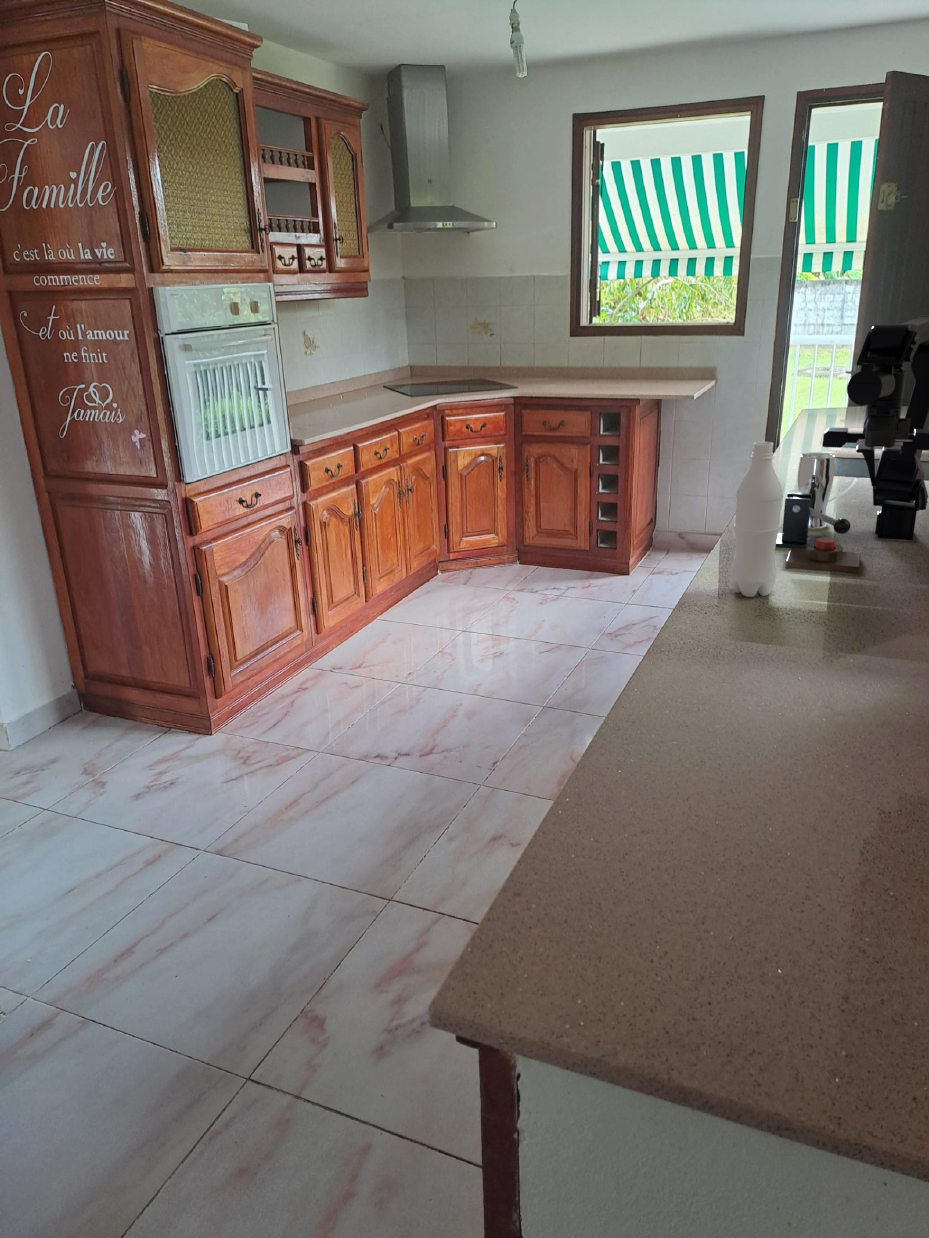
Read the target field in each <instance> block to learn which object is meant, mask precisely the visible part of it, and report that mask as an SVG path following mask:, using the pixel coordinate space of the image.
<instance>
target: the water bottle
mask: <svg viewBox="0 0 929 1238" xmlns="http://www.w3.org/2000/svg"><path fill="white" fill-rule="evenodd" d="M773 448H774V442H772V441H754V442H753V445H752V452H751V455H750V457H749V458H750V460H751V462H750V466H749V468H748V469H747V472H746V473H745V474H744V476H743V477H742V480H741V481H740V483H739V485H738V487H737V490H736V494H735V497H736V502H735V520H734V524H733V529H734V536H735V549H734V551H735V552H734V557H733V560H732V565H731V569H730V583H731V587H732V588H733V591H734V592H735V593H736V594H740V593H741V595H742V596H744V597H747V598H754V597H755V596H756V595H757V593H758V594H760V596H762V597H765V596H768V595H770V593H771V592H772V590H773V588H774V586H775V584H776V580H777V566H776V547H775V546H776V540H777V536H778V533H780V532H779V531H780V529H781V524H780V521H781V512H782V499H783V497H784V493H783V488H782V484H781V482H780V480H779V478H778V475H777V473H776V472H775V469H774V465H773V460H774V458H775V456H774V452H773V450H774V449H773Z"/></svg>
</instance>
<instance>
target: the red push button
mask: <svg viewBox="0 0 929 1238" xmlns="http://www.w3.org/2000/svg"><path fill="white" fill-rule="evenodd" d="M835 544H836V539H834V538H831V537H826V538H817V539H816V544H815V549H819V550H834V546H835Z"/></svg>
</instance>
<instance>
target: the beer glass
mask: <svg viewBox="0 0 929 1238" xmlns="http://www.w3.org/2000/svg"><path fill="white" fill-rule="evenodd" d="M798 465H799V466H798V468H797V469H798V470H797V481H796V482H797V493H804V494H812V497H811V507H810V508H812V509H814V510H816V511H819V512H821V513H823V514H825V515H827V514H826V513H827V507H828V503H829V500H830V497H831V494H832V489H833V484H834V480H835V471H836V469H835V468H836V455H835V454H833V453H829V452H818V451H817V452H815V451H814V452H804V453H801V454H800V458H799V463H798ZM826 527H827V522H824V521H822V520H820V519H818V518H816V517H814V516H812V515H810V517H809V528H808V529H815V530H816V529H823V528H826Z"/></svg>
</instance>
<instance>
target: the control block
mask: <svg viewBox="0 0 929 1238" xmlns="http://www.w3.org/2000/svg"><path fill="white" fill-rule="evenodd" d="M815 544H816V543H812V544H809V545H807V547H806V549H800V548H789V549H790V550H789V552H788V555H787V558H786V561H785V569H791V570H793V569H794V570H806V571H817V572H818V571H820V572H821V571H822V572H831V573H844V574H859V571H860V562H861V552H857V551H856V552H855V551H844V547H843V546H841V545H839V544H836V543H835V546H834V550H819V549H815Z"/></svg>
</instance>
